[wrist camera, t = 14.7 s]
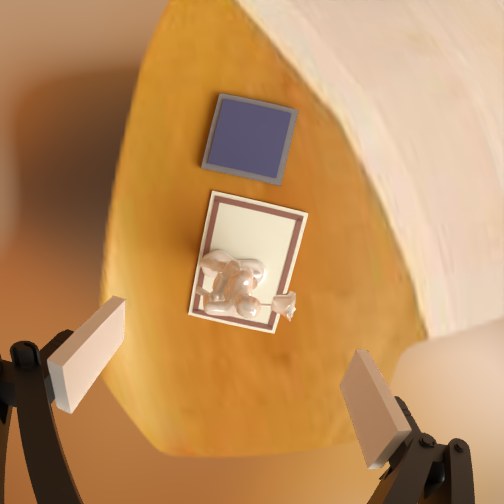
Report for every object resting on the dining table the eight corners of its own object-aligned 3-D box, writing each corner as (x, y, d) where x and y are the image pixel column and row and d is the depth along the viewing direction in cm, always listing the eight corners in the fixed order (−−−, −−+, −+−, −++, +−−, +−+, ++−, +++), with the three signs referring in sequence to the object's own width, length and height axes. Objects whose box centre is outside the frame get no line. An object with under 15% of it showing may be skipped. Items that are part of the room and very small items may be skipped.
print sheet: (212, 190, 30) (212, 190, 30) (307, 213, 30) (308, 213, 30) (188, 313, 33) (188, 315, 33) (274, 332, 34) (274, 334, 33)
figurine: (200, 242, 31) (172, 280, 19) (289, 247, 31) (312, 288, 19) (200, 285, 32) (175, 342, 20) (285, 290, 32) (303, 350, 21)
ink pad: (220, 95, 28) (219, 92, 26) (297, 112, 28) (298, 109, 27) (202, 168, 29) (200, 168, 28) (279, 185, 30) (280, 186, 29)
